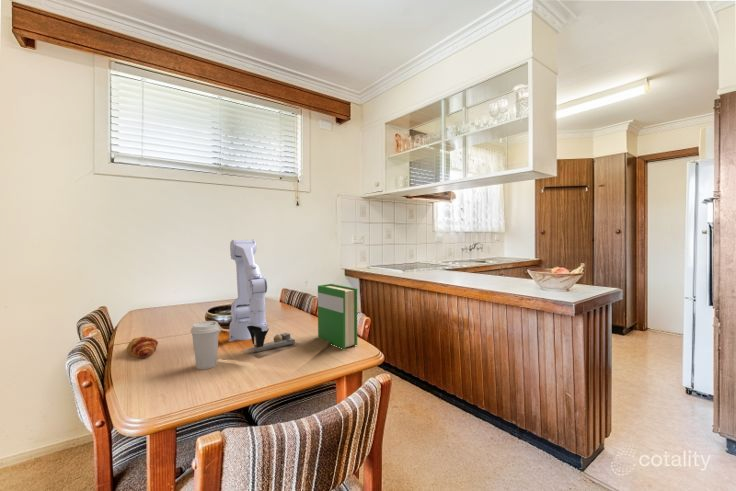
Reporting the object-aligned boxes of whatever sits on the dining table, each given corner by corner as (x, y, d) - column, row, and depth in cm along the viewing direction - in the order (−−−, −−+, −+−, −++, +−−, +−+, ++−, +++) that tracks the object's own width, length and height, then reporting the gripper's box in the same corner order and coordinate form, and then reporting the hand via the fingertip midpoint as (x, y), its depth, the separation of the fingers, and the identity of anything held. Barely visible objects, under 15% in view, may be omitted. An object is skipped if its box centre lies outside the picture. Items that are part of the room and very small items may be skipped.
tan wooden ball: (271, 344, 135) (271, 335, 135) (276, 341, 138) (276, 333, 138) (279, 345, 134) (279, 336, 134) (284, 342, 137) (284, 333, 137)
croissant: (130, 355, 136) (118, 340, 133) (154, 339, 142) (143, 325, 139) (139, 370, 120) (125, 353, 118) (166, 351, 126) (154, 335, 123)
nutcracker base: (283, 340, 143) (283, 331, 143) (301, 346, 135) (301, 336, 135) (241, 354, 127) (241, 343, 127) (258, 361, 120) (258, 350, 120)
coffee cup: (201, 373, 110) (200, 329, 109) (185, 367, 115) (184, 325, 114) (226, 363, 118) (226, 322, 117) (211, 358, 123) (210, 319, 122)
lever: (292, 343, 136) (292, 328, 136) (294, 344, 134) (294, 329, 134) (253, 351, 127) (253, 335, 126) (255, 353, 125) (255, 336, 125)
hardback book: (357, 345, 136) (357, 288, 135) (343, 350, 131) (343, 290, 130) (331, 336, 149) (331, 283, 148) (318, 339, 144) (317, 285, 143)
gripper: (240, 308, 128) (240, 342, 129) (254, 315, 117) (254, 353, 118) (257, 305, 133) (258, 338, 133) (273, 312, 122) (273, 348, 122)
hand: (258, 345), depth 126 cm, fingers open, 4 cm apart
